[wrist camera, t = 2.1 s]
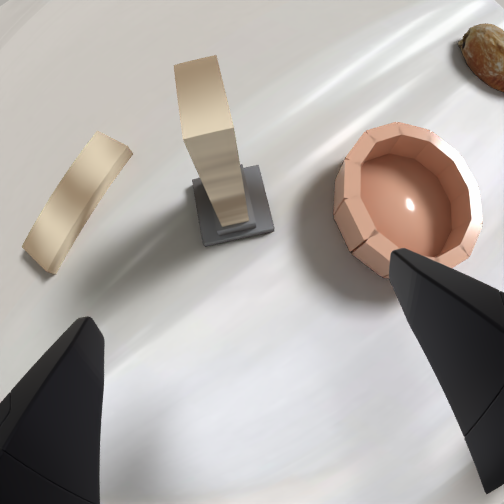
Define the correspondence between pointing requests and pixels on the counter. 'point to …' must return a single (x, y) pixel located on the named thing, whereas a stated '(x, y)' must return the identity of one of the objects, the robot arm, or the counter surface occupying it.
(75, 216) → the light wooden flat block
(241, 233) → the wooden pillar
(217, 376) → the counter surface
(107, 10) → the counter surface
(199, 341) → the counter surface
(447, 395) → the robot arm
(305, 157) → the counter surface
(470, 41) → the bread roll
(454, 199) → the bowl
